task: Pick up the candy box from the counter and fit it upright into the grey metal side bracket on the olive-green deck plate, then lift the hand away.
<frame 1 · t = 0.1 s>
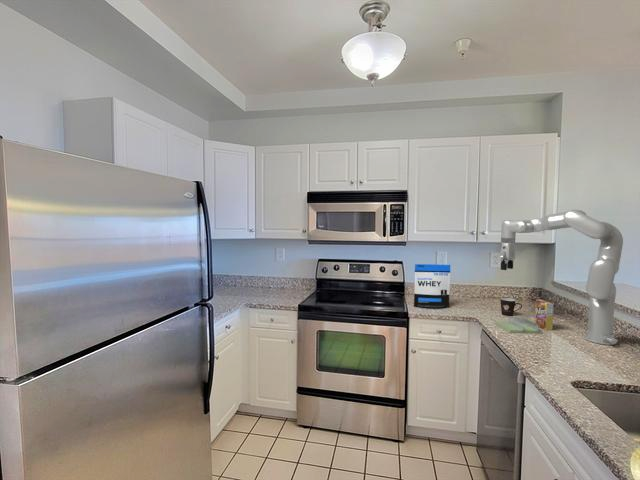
hand: (506, 269, 200), 31 cm above the worktop, tool pointing down, fingers open, 9 cm apart
side bracket: (522, 329, 183), resting on deck plate
coffee mug: (509, 315, 212), on the worktop
protein powder: (431, 307, 230), on the worktop
deck plate: (517, 328, 185), on the worktop
candy box: (543, 328, 187), on the worktop
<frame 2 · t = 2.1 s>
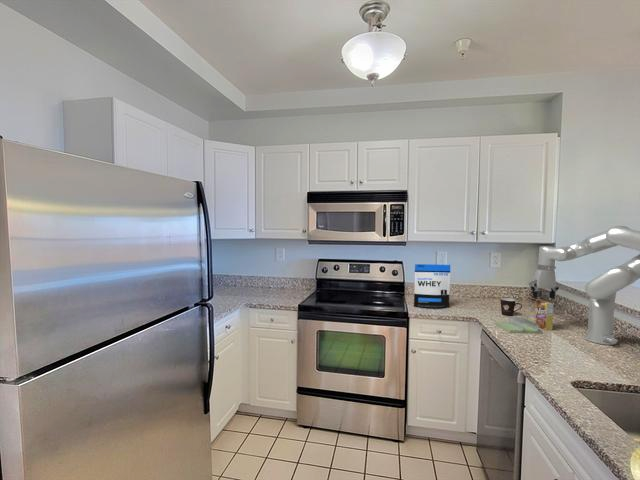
hand: (543, 298, 187), 17 cm above the worktop, tool pointing down, fingers open, 9 cm apart
nothing on the worktop moved.
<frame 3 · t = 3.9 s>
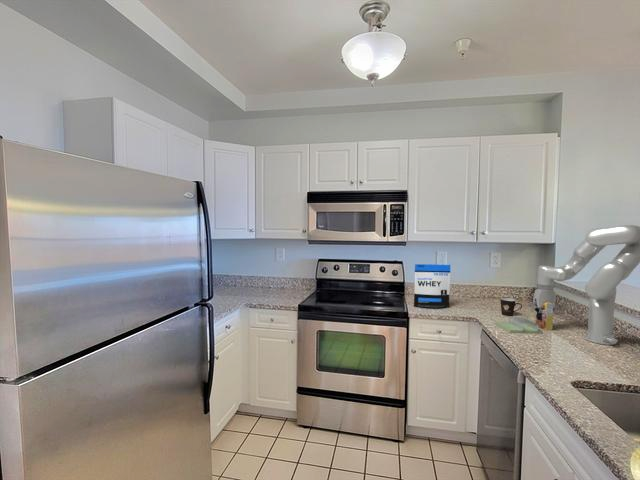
hand: (543, 319, 187), 5 cm above the worktop, tool pointing down, fingers closed on candy box, 4 cm apart
candy box: (543, 328, 187), on the worktop, touching gripper
everything else where it was.
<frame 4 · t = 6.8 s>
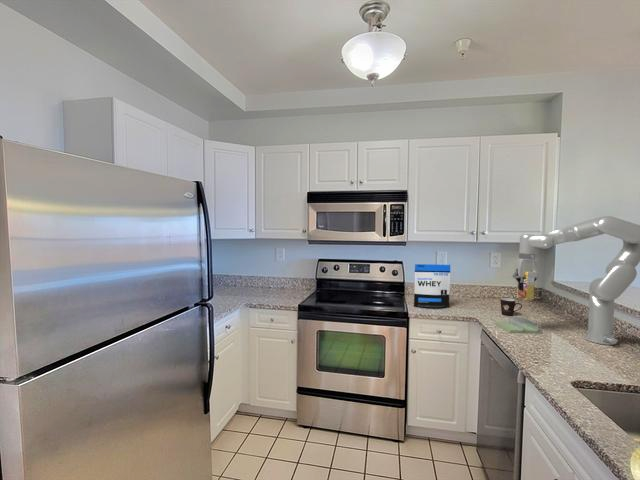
hand: (525, 289, 182), 22 cm above the worktop, tool pointing down, fingers closed on candy box, 4 cm apart
candy box: (524, 298, 183), point 17 cm above the worktop, touching gripper
everything else where it was.
when the fingers open (8 cm above the worktop, at t = 10.0 s): candy box drops 1 cm, resting on deck plate.
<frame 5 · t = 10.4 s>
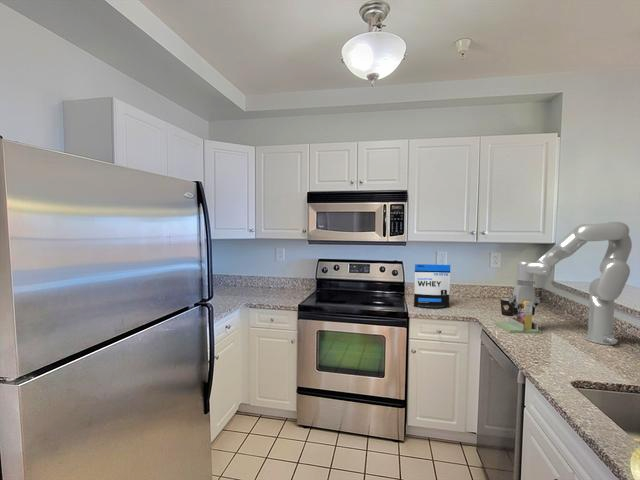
hand: (523, 314, 183), 9 cm above the worktop, tool pointing down, fingers open, 8 cm apart
candy box: (522, 327, 183), point 1 cm above the worktop, touching deck plate
everything else where it was.
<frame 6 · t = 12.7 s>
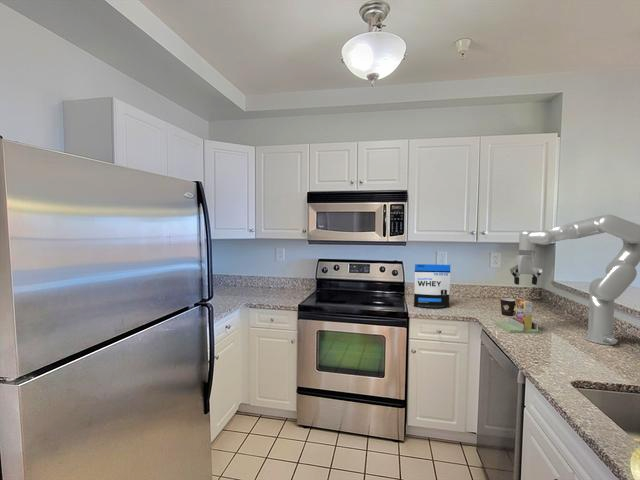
hand: (525, 284, 182), 25 cm above the worktop, tool pointing down, fingers open, 9 cm apart
nothing on the worktop moved.
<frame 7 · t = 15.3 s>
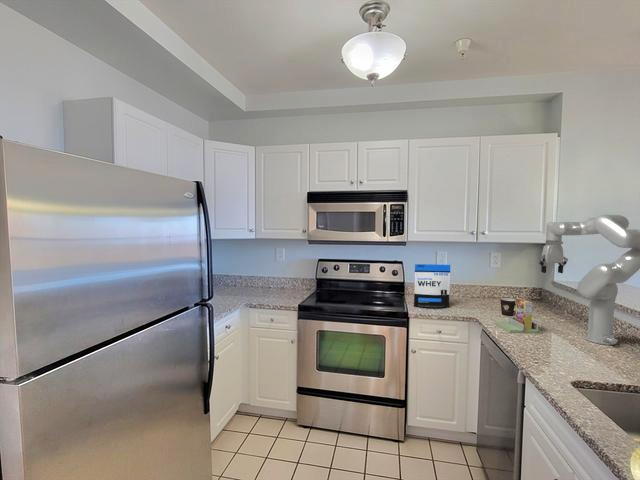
hand: (552, 272, 194), 30 cm above the worktop, tool pointing down, fingers open, 9 cm apart
nothing on the worktop moved.
at the end: candy box 0.0 cm off-centre on the side bracket, point 1.3 cm above the side bracket's base; candy box tilted 0°; the gripper is holding nothing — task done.
